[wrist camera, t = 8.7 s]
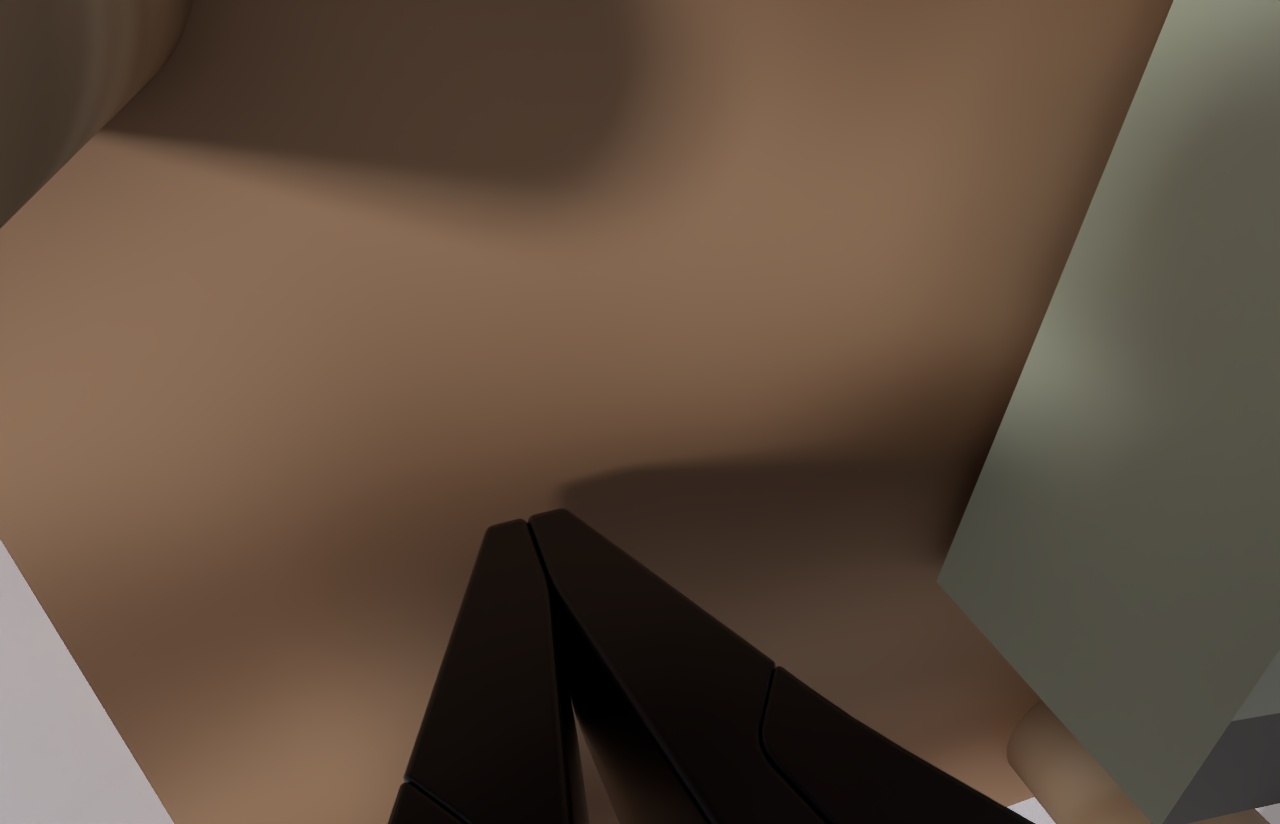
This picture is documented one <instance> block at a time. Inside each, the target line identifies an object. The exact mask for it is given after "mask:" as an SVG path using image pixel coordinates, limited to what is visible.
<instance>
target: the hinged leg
mask: <svg viewBox="0 0 1280 824" xmlns="http://www.w3.org/2000/svg"><path fill="white" fill-rule="evenodd" d="M936 582H937V583H938V584H939V585H940V586H941V587H942V589H943V590H944V591H945V592H946V593H947V594H948V595H949V596H950V597H951V599H952V600H953V601H954V602H955V603H956V604H957V605H958V606H959V608H960V609H961V610H962V611H963V612H964V613H965V614H966V615H967V617H968V618H969V619H970V620H971V621H972V622H973V623H974V624H975V626H976V627H977V628H978V629H979V630H980V631H981V632H982V633H983V634H984V636H985V637H986V638H987V639H988V640H989V641H990V642H991V643H992V645H993V646H994V647H995V648H996V649H997V650H998V651H999V652H1000V654H1001V655H1002V656H1003V657H1004V658H1005V659H1006V660H1007V661H1008V663H1009V664H1010V665H1011V666H1012V667H1013V668H1014V669H1015V670H1016V671H1017V673H1018V674H1019V675H1020V676H1021V677H1022V678H1023V679H1024V680H1025V682H1026V683H1027V684H1028V685H1029V686H1030V687H1031V688H1032V689H1033V691H1034V692H1035V693H1036V694H1037V695H1038V696H1039V697H1040V698H1041V700H1042V701H1043V702H1044V703H1045V704H1046V705H1047V706H1048V707H1049V708H1050V710H1051V711H1052V712H1053V713H1054V714H1055V715H1056V716H1057V717H1058V719H1059V720H1060V721H1061V722H1062V723H1063V724H1064V725H1065V726H1066V728H1067V729H1068V730H1069V731H1070V732H1071V733H1072V734H1073V735H1074V737H1075V738H1076V739H1077V740H1078V741H1079V742H1080V743H1081V744H1082V745H1083V747H1084V748H1085V749H1086V750H1087V751H1088V752H1089V753H1090V754H1091V756H1092V757H1093V758H1094V759H1095V760H1096V761H1097V762H1098V763H1099V765H1100V766H1101V767H1102V768H1103V769H1104V770H1105V771H1106V772H1107V774H1108V775H1109V776H1110V777H1111V778H1112V779H1113V780H1114V781H1115V782H1116V784H1117V785H1118V786H1119V787H1120V788H1121V789H1122V790H1123V791H1124V793H1125V794H1126V795H1127V796H1128V797H1129V798H1130V799H1131V800H1132V802H1133V803H1134V804H1135V805H1136V806H1137V807H1138V808H1139V809H1140V811H1141V812H1142V813H1143V814H1144V815H1145V816H1146V817H1147V818H1148V819H1149V821H1150V822H1151V823H1152V824H1188V823H1192V822H1197V821H1201V820H1206V819H1210V818H1215V817H1219V816H1223V815H1228V814H1232V813H1237V812H1241V811H1246V810H1250V809H1255V808H1259V807H1264V806H1268V805H1273V804H1277V803H1280V0H1173V3H1172V5H1171V8H1170V10H1169V13H1168V15H1167V18H1166V20H1165V22H1164V25H1163V27H1162V30H1161V32H1160V35H1159V37H1158V40H1157V42H1156V45H1155V47H1154V49H1153V52H1152V54H1151V57H1150V59H1149V62H1148V64H1147V67H1146V69H1145V71H1144V74H1143V76H1142V79H1141V81H1140V84H1139V86H1138V89H1137V91H1136V94H1135V96H1134V98H1133V101H1132V103H1131V106H1130V108H1129V111H1128V113H1127V116H1126V118H1125V120H1124V123H1123V125H1122V128H1121V130H1120V133H1119V135H1118V138H1117V140H1116V143H1115V145H1114V147H1113V150H1112V152H1111V155H1110V157H1109V160H1108V162H1107V165H1106V167H1105V169H1104V172H1103V174H1102V177H1101V179H1100V182H1099V184H1098V187H1097V189H1096V192H1095V194H1094V196H1093V199H1092V201H1091V204H1090V206H1089V209H1088V211H1087V214H1086V216H1085V218H1084V221H1083V223H1082V226H1081V228H1080V231H1079V233H1078V236H1077V238H1076V241H1075V243H1074V245H1073V248H1072V250H1071V253H1070V255H1069V258H1068V260H1067V263H1066V265H1065V267H1064V270H1063V272H1062V275H1061V277H1060V280H1059V282H1058V285H1057V287H1056V290H1055V292H1054V294H1053V297H1052V299H1051V302H1050V304H1049V307H1048V309H1047V312H1046V314H1045V316H1044V319H1043V321H1042V324H1041V326H1040V329H1039V331H1038V334H1037V336H1036V339H1035V341H1034V343H1033V346H1032V348H1031V351H1030V353H1029V356H1028V358H1027V361H1026V363H1025V365H1024V368H1023V370H1022V373H1021V375H1020V378H1019V380H1018V383H1017V385H1016V388H1015V390H1014V392H1013V395H1012V397H1011V400H1010V402H1009V405H1008V407H1007V410H1006V412H1005V414H1004V417H1003V419H1002V422H1001V424H1000V427H999V429H998V432H997V434H996V437H995V439H994V441H993V444H992V446H991V449H990V451H989V454H988V456H987V459H986V461H985V463H984V466H983V468H982V471H981V473H980V476H979V478H978V481H977V483H976V486H975V488H974V490H973V493H972V495H971V498H970V500H969V503H968V505H967V508H966V510H965V512H964V515H963V517H962V520H961V522H960V525H959V527H958V530H957V532H956V535H955V537H954V539H953V542H952V544H951V547H950V549H949V552H948V554H947V557H946V559H945V561H944V564H943V566H942V569H941V571H940V574H939V576H938V579H937V581H936Z"/></svg>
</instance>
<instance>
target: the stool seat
mask: <svg viewBox="0 0 1280 824" xmlns="http://www.w3.org/2000/svg"><path fill="white" fill-rule="evenodd" d="M1172 3H1173V0H0V539H1V541H2V542H3V544H4V546H5V547H6V549H7V551H8V552H9V554H10V555H11V557H12V559H13V560H14V562H15V564H16V565H17V567H18V568H19V570H20V572H21V573H22V575H23V577H24V578H25V580H26V582H27V583H28V585H29V586H30V588H31V590H32V591H33V593H34V595H35V596H36V598H37V600H38V601H39V603H40V604H41V606H42V608H43V609H44V611H45V613H46V614H47V616H48V618H49V619H50V621H51V622H52V624H53V626H54V627H55V629H56V631H57V632H58V634H59V636H60V637H61V639H62V640H63V642H64V644H65V645H66V647H67V649H68V650H69V652H70V654H71V655H72V657H73V658H74V660H75V662H76V663H77V665H78V667H79V668H80V670H81V672H82V673H83V675H84V676H85V678H86V680H87V681H88V683H89V685H90V686H91V688H92V690H93V691H94V693H95V694H96V696H97V698H98V699H99V701H100V703H101V704H102V706H103V708H104V709H105V711H106V712H107V714H108V716H109V717H110V719H111V721H112V722H113V724H114V726H115V727H116V729H117V730H118V732H119V734H120V735H121V737H122V739H123V740H124V742H125V744H126V745H127V747H128V748H129V750H130V752H131V753H132V755H133V757H134V758H135V760H136V762H137V763H138V765H139V766H140V768H141V770H142V771H143V773H144V775H145V776H146V778H147V780H148V781H149V783H150V784H151V786H152V788H153V789H154V791H155V793H156V794H157V796H158V798H159V799H160V801H161V802H162V804H163V806H164V807H165V809H166V811H167V812H168V814H169V816H170V817H171V819H172V820H173V822H174V824H387V823H388V820H389V817H390V814H391V811H392V808H393V805H394V802H395V799H396V796H397V793H398V790H399V787H400V785H401V784H403V783H404V779H403V777H404V774H405V771H406V768H407V765H408V762H409V759H410V756H411V753H412V750H413V747H414V744H415V741H416V738H417V735H418V732H419V729H420V726H421V723H422V720H423V717H424V714H425V711H426V708H427V705H428V702H429V699H430V696H431V693H432V690H433V687H434V684H435V681H436V678H437V675H438V672H439V669H440V666H441V663H442V660H443V657H444V654H445V651H446V648H447V645H448V642H449V639H450V636H451V633H452V630H453V627H454V624H455V621H456V618H457V615H458V612H459V609H460V606H461V603H462V600H463V597H464V594H465V591H466V588H467V585H468V582H469V579H470V576H471V573H472V570H473V567H474V564H475V561H476V558H477V555H478V552H479V549H480V546H481V543H482V540H483V537H484V534H485V532H486V530H487V528H488V527H490V526H492V525H495V524H499V523H503V522H507V521H511V520H515V519H520V518H521V519H524V520H525V521H526V522H527V524H528V519H529V517H530V516H532V515H535V514H539V513H542V512H546V511H550V510H554V509H558V508H564V509H567V510H569V511H570V512H572V513H573V514H574V515H576V516H577V517H578V518H580V519H581V520H582V521H584V522H585V523H586V524H588V525H589V526H591V527H592V528H593V529H595V530H596V531H597V532H599V533H600V534H601V535H603V536H604V537H606V538H607V539H608V540H610V541H611V542H612V543H614V544H615V545H616V546H618V547H619V548H621V549H622V550H623V551H625V552H626V553H627V554H629V555H630V556H631V557H633V558H634V559H635V560H637V561H638V562H640V563H641V564H642V565H644V566H645V567H646V568H648V569H649V570H650V571H652V572H653V573H655V574H656V575H657V576H659V577H660V578H661V579H663V580H664V581H665V582H667V583H668V584H670V585H671V586H672V587H674V588H675V589H676V590H678V591H679V592H680V593H682V594H683V595H684V596H686V597H687V598H689V599H690V600H691V601H693V602H694V603H695V604H697V605H698V606H699V607H701V608H702V609H704V610H705V611H706V612H708V613H709V614H710V615H712V616H713V617H714V618H716V619H717V620H719V621H720V622H721V623H723V624H724V625H725V626H727V627H728V628H729V629H731V630H732V631H733V632H735V633H736V634H738V635H739V636H740V637H742V638H743V639H744V640H746V641H747V642H748V643H750V644H751V645H753V646H754V647H755V648H757V649H758V650H759V651H761V652H762V653H763V654H765V655H766V656H768V657H769V658H770V659H772V660H773V661H774V662H775V664H776V667H778V666H781V667H783V668H784V669H786V670H787V671H788V672H790V673H791V674H792V675H794V676H795V677H796V678H798V679H799V680H801V681H802V682H803V683H805V684H806V685H807V686H809V687H810V688H812V689H813V690H815V691H816V692H817V693H819V694H820V695H822V696H823V697H825V698H826V699H828V700H829V701H830V702H832V703H833V704H835V705H836V706H838V707H839V708H841V709H842V710H844V711H845V712H846V713H848V714H849V715H851V716H852V717H854V718H856V719H857V720H859V721H860V722H862V723H864V724H865V725H867V726H869V727H870V728H872V729H873V730H875V731H877V732H878V733H880V734H882V735H883V736H885V737H887V738H888V739H890V740H891V741H893V742H895V743H896V744H898V745H900V746H901V747H903V748H905V749H906V750H908V751H910V752H912V753H913V754H915V755H917V756H918V757H920V758H922V759H924V760H925V761H927V762H929V763H931V764H932V765H934V766H936V767H938V768H939V769H941V770H943V771H944V772H946V773H948V774H950V775H951V776H953V777H955V778H957V779H958V780H960V781H962V782H964V783H965V784H967V785H969V786H970V787H972V788H974V789H976V790H977V791H979V792H981V793H983V794H984V795H986V796H988V797H990V798H991V799H993V800H995V801H996V802H998V803H1000V804H1002V805H1003V806H1005V807H1008V806H1010V805H1013V804H1016V803H1018V802H1021V801H1024V800H1027V799H1029V798H1032V797H1035V798H1036V799H1037V800H1038V801H1039V803H1040V804H1041V805H1042V807H1043V808H1044V809H1045V810H1046V812H1047V813H1048V814H1049V815H1050V817H1051V818H1052V819H1053V821H1054V822H1055V823H1056V824H1152V823H1151V822H1150V821H1149V819H1148V818H1147V817H1146V816H1145V815H1144V814H1143V813H1142V812H1141V811H1140V809H1139V808H1138V807H1137V806H1136V805H1135V804H1134V803H1133V802H1132V800H1131V799H1130V798H1129V797H1128V796H1127V795H1126V794H1125V793H1124V791H1123V790H1122V789H1121V788H1120V787H1119V786H1118V785H1117V784H1116V782H1115V781H1114V780H1113V779H1112V778H1111V777H1110V776H1109V775H1108V774H1107V772H1106V771H1105V770H1104V769H1103V768H1102V767H1101V766H1100V765H1099V763H1098V762H1097V761H1096V760H1095V759H1094V758H1093V757H1092V756H1091V754H1090V753H1089V752H1088V751H1087V750H1086V749H1085V748H1084V747H1083V745H1082V744H1081V743H1080V742H1079V741H1078V740H1077V739H1076V738H1075V737H1074V735H1073V734H1072V733H1071V732H1070V731H1069V730H1068V729H1067V728H1066V726H1065V725H1064V724H1063V723H1062V722H1061V721H1060V720H1059V719H1058V717H1057V716H1056V715H1055V714H1054V713H1053V712H1052V711H1051V710H1050V708H1049V707H1048V706H1047V705H1046V704H1045V703H1044V702H1043V701H1042V700H1041V698H1040V697H1039V696H1038V695H1037V694H1036V693H1035V692H1034V691H1033V689H1032V688H1031V687H1030V686H1029V685H1028V684H1027V683H1026V682H1025V680H1024V679H1023V678H1022V677H1021V676H1020V675H1019V674H1018V673H1017V671H1016V670H1015V669H1014V668H1013V667H1012V666H1011V665H1010V664H1009V663H1008V661H1007V660H1006V659H1005V658H1004V657H1003V656H1002V655H1001V654H1000V652H999V651H998V650H997V649H996V648H995V647H994V646H993V645H992V643H991V642H990V641H989V640H988V639H987V638H986V637H985V636H984V634H983V633H982V632H981V631H980V630H979V629H978V628H977V627H976V626H975V624H974V623H973V622H972V621H971V620H970V619H969V618H968V617H967V615H966V614H965V613H964V612H963V611H962V610H961V609H960V608H959V606H958V605H957V604H956V603H955V602H954V601H953V600H952V599H951V597H950V596H949V595H948V594H947V593H946V592H945V591H944V590H943V589H942V587H941V586H940V585H939V584H938V583H937V582H936V581H937V579H938V576H939V574H940V571H941V569H942V566H943V564H944V561H945V559H946V557H947V554H948V552H949V549H950V547H951V544H952V542H953V539H954V537H955V535H956V532H957V530H958V527H959V525H960V522H961V520H962V517H963V515H964V512H965V510H966V508H967V505H968V503H969V500H970V498H971V495H972V493H973V490H974V488H975V486H976V483H977V481H978V478H979V476H980V473H981V471H982V468H983V466H984V463H985V461H986V459H987V456H988V454H989V451H990V449H991V446H992V444H993V441H994V439H995V437H996V434H997V432H998V429H999V427H1000V424H1001V422H1002V419H1003V417H1004V414H1005V412H1006V410H1007V407H1008V405H1009V402H1010V400H1011V397H1012V395H1013V392H1014V390H1015V388H1016V385H1017V383H1018V380H1019V378H1020V375H1021V373H1022V370H1023V368H1024V365H1025V363H1026V361H1027V358H1028V356H1029V353H1030V351H1031V348H1032V346H1033V343H1034V341H1035V339H1036V336H1037V334H1038V331H1039V329H1040V326H1041V324H1042V321H1043V319H1044V316H1045V314H1046V312H1047V309H1048V307H1049V304H1050V302H1051V299H1052V297H1053V294H1054V292H1055V290H1056V287H1057V285H1058V282H1059V280H1060V277H1061V275H1062V272H1063V270H1064V267H1065V265H1066V263H1067V260H1068V258H1069V255H1070V253H1071V250H1072V248H1073V245H1074V243H1075V241H1076V238H1077V236H1078V233H1079V231H1080V228H1081V226H1082V223H1083V221H1084V218H1085V216H1086V214H1087V211H1088V209H1089V206H1090V204H1091V201H1092V199H1093V196H1094V194H1095V192H1096V189H1097V187H1098V184H1099V182H1100V179H1101V177H1102V174H1103V172H1104V169H1105V167H1106V165H1107V162H1108V160H1109V157H1110V155H1111V152H1112V150H1113V147H1114V145H1115V143H1116V140H1117V138H1118V135H1119V133H1120V130H1121V128H1122V125H1123V123H1124V120H1125V118H1126V116H1127V113H1128V111H1129V108H1130V106H1131V103H1132V101H1133V98H1134V96H1135V94H1136V91H1137V89H1138V86H1139V84H1140V81H1141V79H1142V76H1143V74H1144V71H1145V69H1146V67H1147V64H1148V62H1149V59H1150V57H1151V54H1152V52H1153V49H1154V47H1155V45H1156V42H1157V40H1158V37H1159V35H1160V32H1161V30H1162V27H1163V25H1164V22H1165V20H1166V18H1167V15H1168V13H1169V10H1170V8H1171V5H1172ZM572 708H573V706H572ZM573 713H574V719H575V724H576V730H577V736H578V742H579V749H580V757H581V764H582V771H583V779H584V786H585V793H586V800H587V808H588V815H589V822H590V824H620V823H619V820H618V818H617V815H616V813H615V811H614V808H613V806H612V804H611V801H610V799H609V796H608V794H607V792H606V789H605V787H604V785H603V782H602V780H601V777H600V775H599V773H598V770H597V768H596V766H595V763H594V761H593V758H592V756H591V754H590V751H589V749H588V747H587V744H586V742H585V739H584V737H583V734H582V732H581V729H580V726H579V724H578V721H577V719H576V715H575V712H574V709H573ZM1188 824H1270V823H1269V822H1268V821H1267V820H1266V819H1265V818H1264V817H1263V816H1261V814H1260V813H1259V812H1258V811H1257V810H1256V809H1250V810H1246V811H1241V812H1237V813H1232V814H1228V815H1223V816H1219V817H1215V818H1210V819H1206V820H1201V821H1197V822H1192V823H1188Z"/></svg>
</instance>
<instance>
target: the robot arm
mask: <svg viewBox="0 0 1280 824" xmlns="http://www.w3.org/2000/svg"><path fill="white" fill-rule="evenodd" d="M572 706H573V708H572ZM573 709H574V712H575V715H576V719H577V721H578V724H579V726H580V729H581V732H582V734H583V737H584V739H585V742H586V744H587V747H588V749H589V751H590V754H591V756H592V758H593V761H594V763H595V766H596V768H597V770H598V773H599V775H600V777H601V780H602V782H603V785H604V787H605V789H606V792H607V794H608V796H609V799H610V801H611V804H612V806H613V808H614V811H615V813H616V815H617V818H618V820H619V823H620V824H1035V823H1033V822H1031V821H1029V820H1028V819H1026V818H1024V817H1022V816H1021V815H1019V814H1017V813H1016V812H1014V811H1012V810H1010V809H1009V808H1007V807H1005V806H1003V805H1002V804H1000V803H998V802H996V801H995V800H993V799H991V798H990V797H988V796H986V795H984V794H983V793H981V792H979V791H977V790H976V789H974V788H972V787H970V786H969V785H967V784H965V783H964V782H962V781H960V780H958V779H957V778H955V777H953V776H951V775H950V774H948V773H946V772H944V771H943V770H941V769H939V768H938V767H936V766H934V765H932V764H931V763H929V762H927V761H925V760H924V759H922V758H920V757H918V756H917V755H915V754H913V753H912V752H910V751H908V750H906V749H905V748H903V747H901V746H900V745H898V744H896V743H895V742H893V741H891V740H890V739H888V738H887V737H885V736H883V735H882V734H880V733H878V732H877V731H875V730H873V729H872V728H870V727H869V726H867V725H865V724H864V723H862V722H860V721H859V720H857V719H856V718H854V717H852V716H851V715H849V714H848V713H846V712H845V711H844V710H842V709H841V708H839V707H838V706H836V705H835V704H833V703H832V702H830V701H829V700H828V699H826V698H825V697H823V696H822V695H820V694H819V693H817V692H816V691H815V690H813V689H812V688H810V687H809V686H807V685H806V684H805V683H803V682H802V681H801V680H799V679H798V678H796V677H795V676H794V675H792V674H791V673H790V672H788V671H787V670H786V669H784V668H783V667H781V666H778V667H776V664H775V662H774V661H773V660H772V659H770V658H769V657H768V656H766V655H765V654H763V653H762V652H761V651H759V650H758V649H757V648H755V647H754V646H753V645H751V644H750V643H748V642H747V641H746V640H744V639H743V638H742V637H740V636H739V635H738V634H736V633H735V632H733V631H732V630H731V629H729V628H728V627H727V626H725V625H724V624H723V623H721V622H720V621H719V620H717V619H716V618H714V617H713V616H712V615H710V614H709V613H708V612H706V611H705V610H704V609H702V608H701V607H699V606H698V605H697V604H695V603H694V602H693V601H691V600H690V599H689V598H687V597H686V596H684V595H683V594H682V593H680V592H679V591H678V590H676V589H675V588H674V587H672V586H671V585H670V584H668V583H667V582H665V581H664V580H663V579H661V578H660V577H659V576H657V575H656V574H655V573H653V572H652V571H650V570H649V569H648V568H646V567H645V566H644V565H642V564H641V563H640V562H638V561H637V560H635V559H634V558H633V557H631V556H630V555H629V554H627V553H626V552H625V551H623V550H622V549H621V548H619V547H618V546H616V545H615V544H614V543H612V542H611V541H610V540H608V539H607V538H606V537H604V536H603V535H601V534H600V533H599V532H597V531H596V530H595V529H593V528H592V527H591V526H589V525H588V524H586V523H585V522H584V521H582V520H581V519H580V518H578V517H577V516H576V515H574V514H573V513H572V512H570V511H569V510H567V509H564V508H558V509H554V510H550V511H546V512H542V513H539V514H535V515H532V516H530V517H529V519H528V524H527V522H526V521H525V520H524V519H521V518H520V519H515V520H511V521H507V522H503V523H499V524H495V525H492V526H490V527H488V528H487V530H486V532H485V534H484V537H483V540H482V543H481V546H480V549H479V552H478V555H477V558H476V561H475V564H474V567H473V570H472V573H471V576H470V579H469V582H468V585H467V588H466V591H465V594H464V597H463V600H462V603H461V606H460V609H459V612H458V615H457V618H456V621H455V624H454V627H453V630H452V633H451V636H450V639H449V642H448V645H447V648H446V651H445V654H444V657H443V660H442V663H441V666H440V669H439V672H438V675H437V678H436V681H435V684H434V687H433V690H432V693H431V696H430V699H429V702H428V705H427V708H426V711H425V714H424V717H423V720H422V723H421V726H420V729H419V732H418V735H417V738H416V741H415V744H414V747H413V750H412V753H411V756H410V759H409V762H408V765H407V768H406V771H405V774H404V777H403V779H404V783H403V784H401V785H400V787H399V790H398V793H397V796H396V799H395V802H394V805H393V808H392V811H391V814H390V817H389V820H388V823H387V824H590V822H589V815H588V808H587V800H586V793H585V786H584V779H583V771H582V764H581V757H580V749H579V742H578V736H577V730H576V724H575V719H574V713H573Z"/></svg>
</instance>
